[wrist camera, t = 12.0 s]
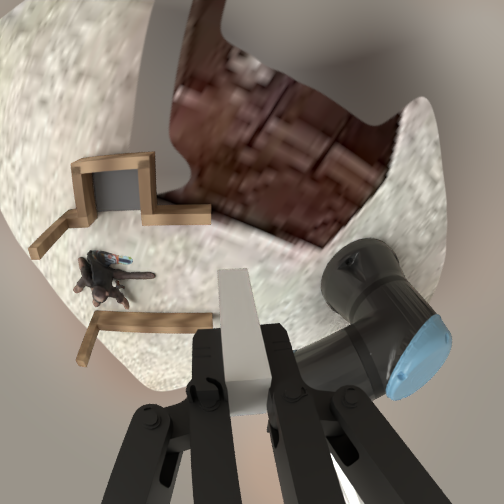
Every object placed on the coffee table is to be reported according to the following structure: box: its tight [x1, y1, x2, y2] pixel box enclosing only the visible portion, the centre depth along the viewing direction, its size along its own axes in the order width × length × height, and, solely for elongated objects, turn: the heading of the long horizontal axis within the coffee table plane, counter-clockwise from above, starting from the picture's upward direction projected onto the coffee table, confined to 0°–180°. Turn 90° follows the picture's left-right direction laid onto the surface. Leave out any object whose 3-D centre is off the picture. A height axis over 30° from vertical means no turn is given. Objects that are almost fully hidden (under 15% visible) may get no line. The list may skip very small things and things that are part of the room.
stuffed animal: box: [73, 250, 155, 309], centre depth 40 cm, size 12×10×12 cm
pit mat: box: [93, 169, 141, 212], centre depth 33 cm, size 7×6×1 cm
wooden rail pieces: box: [28, 152, 213, 367], centre depth 33 cm, size 22×28×12 cm
